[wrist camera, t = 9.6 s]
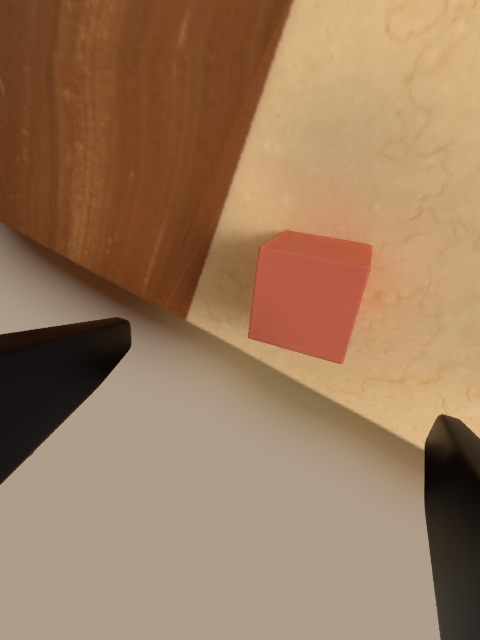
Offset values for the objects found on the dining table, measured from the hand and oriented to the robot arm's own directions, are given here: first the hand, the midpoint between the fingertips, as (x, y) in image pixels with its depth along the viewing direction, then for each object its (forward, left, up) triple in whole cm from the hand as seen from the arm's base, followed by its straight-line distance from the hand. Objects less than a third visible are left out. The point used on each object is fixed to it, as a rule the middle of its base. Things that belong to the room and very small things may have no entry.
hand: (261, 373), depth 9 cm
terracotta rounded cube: (0, 0, -10) cm, 10 cm away
